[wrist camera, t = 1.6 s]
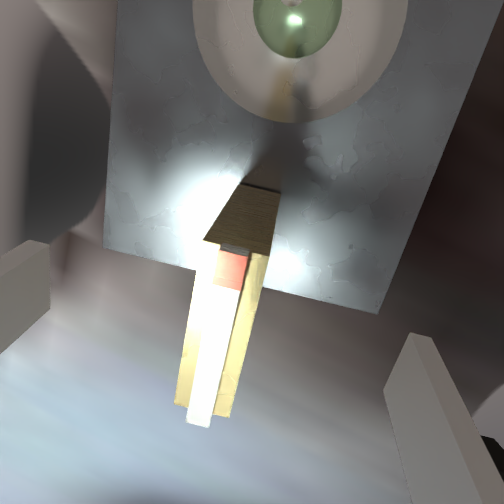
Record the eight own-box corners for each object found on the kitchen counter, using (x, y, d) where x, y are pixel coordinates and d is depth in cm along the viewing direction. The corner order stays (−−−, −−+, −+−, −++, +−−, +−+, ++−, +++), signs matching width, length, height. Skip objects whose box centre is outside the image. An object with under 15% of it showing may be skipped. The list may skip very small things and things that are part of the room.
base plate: (374, 305, 23) (389, 348, 19) (110, 241, 23) (73, 271, 20) (643, -375, 13) (790, -573, 9) (160, -474, 13) (102, -705, 9)
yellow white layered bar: (251, 311, 23) (225, 432, 15) (214, 302, 23) (168, 418, 15) (281, 192, 20) (268, 262, 12) (238, 181, 20) (197, 245, 12)
